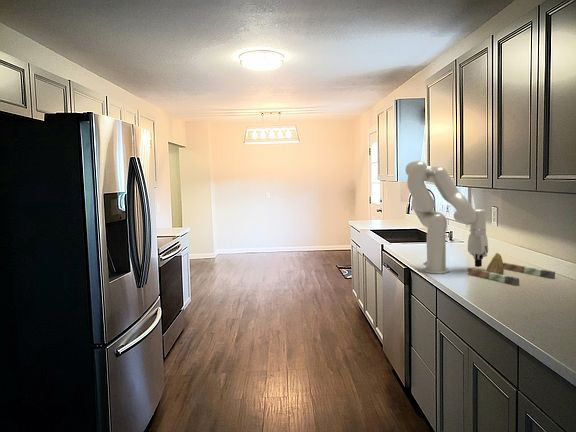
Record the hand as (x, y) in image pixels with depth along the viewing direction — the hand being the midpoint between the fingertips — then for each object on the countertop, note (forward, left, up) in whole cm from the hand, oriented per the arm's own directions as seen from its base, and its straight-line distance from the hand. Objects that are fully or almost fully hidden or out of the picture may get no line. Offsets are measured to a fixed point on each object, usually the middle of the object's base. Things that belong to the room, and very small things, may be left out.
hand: (478, 266), depth 236 cm
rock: (+11, 0, -2) cm, 11 cm away
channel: (+20, 0, -2) cm, 20 cm away
